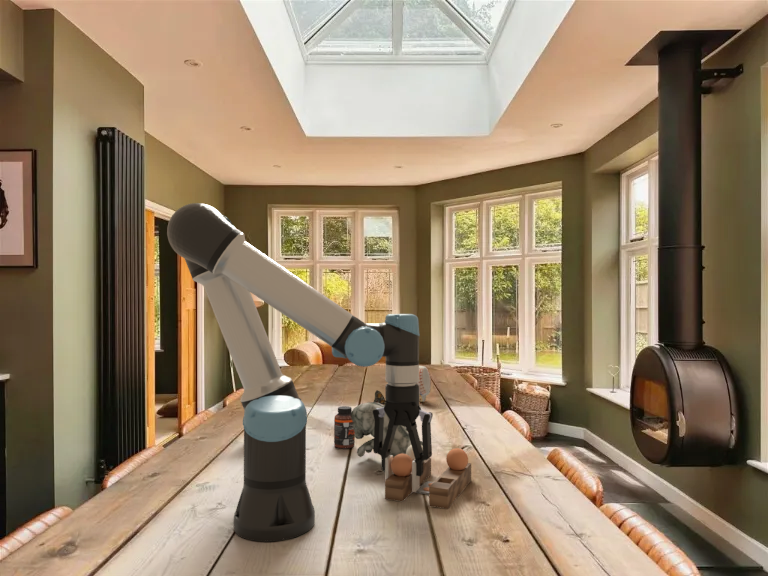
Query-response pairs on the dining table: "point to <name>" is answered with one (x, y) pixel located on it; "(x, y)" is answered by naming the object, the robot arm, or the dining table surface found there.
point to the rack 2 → (448, 487)
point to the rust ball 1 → (402, 465)
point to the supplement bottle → (344, 428)
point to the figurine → (365, 426)
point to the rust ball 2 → (457, 459)
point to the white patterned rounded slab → (424, 383)
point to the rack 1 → (404, 484)
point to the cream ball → (411, 452)
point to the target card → (424, 488)
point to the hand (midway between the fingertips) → (402, 487)
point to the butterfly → (379, 398)
